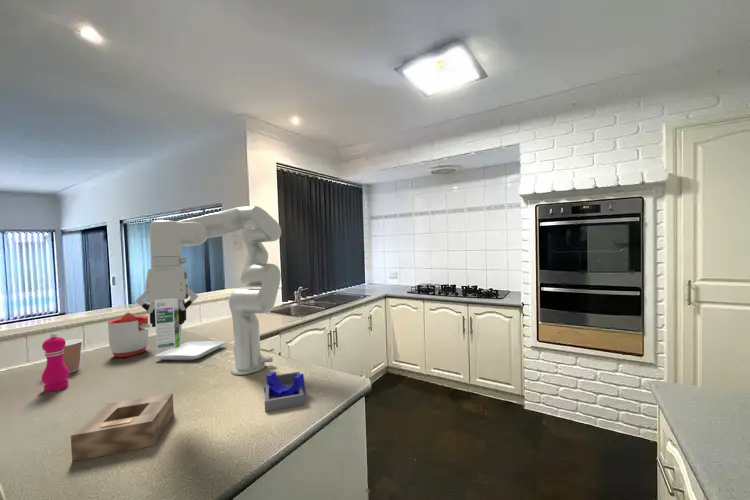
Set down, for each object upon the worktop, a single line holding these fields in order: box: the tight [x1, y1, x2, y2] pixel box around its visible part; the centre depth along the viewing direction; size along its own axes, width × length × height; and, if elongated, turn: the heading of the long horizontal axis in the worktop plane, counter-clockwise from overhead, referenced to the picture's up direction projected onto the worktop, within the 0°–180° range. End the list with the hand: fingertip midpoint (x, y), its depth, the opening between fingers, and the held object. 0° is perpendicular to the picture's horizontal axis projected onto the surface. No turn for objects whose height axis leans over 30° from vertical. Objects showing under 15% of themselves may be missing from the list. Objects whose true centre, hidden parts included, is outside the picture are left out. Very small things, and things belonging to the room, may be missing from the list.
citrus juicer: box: [106, 312, 151, 358], centre depth 153 cm, size 16×17×20 cm
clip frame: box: [264, 371, 305, 413], centre depth 102 cm, size 11×19×3 cm, turn 17°
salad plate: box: [154, 340, 226, 361], centre depth 148 cm, size 21×21×3 cm
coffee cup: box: [63, 338, 83, 374], centre depth 133 cm, size 10×10×12 cm
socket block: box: [70, 392, 175, 462], centre depth 83 cm, size 16×16×6 cm
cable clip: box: [263, 371, 306, 398], centre depth 102 cm, size 12×4×6 cm, turn 71°
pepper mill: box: [41, 332, 71, 392], centre depth 116 cm, size 7×7×20 cm
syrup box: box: [155, 298, 183, 352], centre depth 93 cm, size 6×6×14 cm
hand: (168, 324), depth 93 cm, fingers closed on syrup box, 6 cm apart
